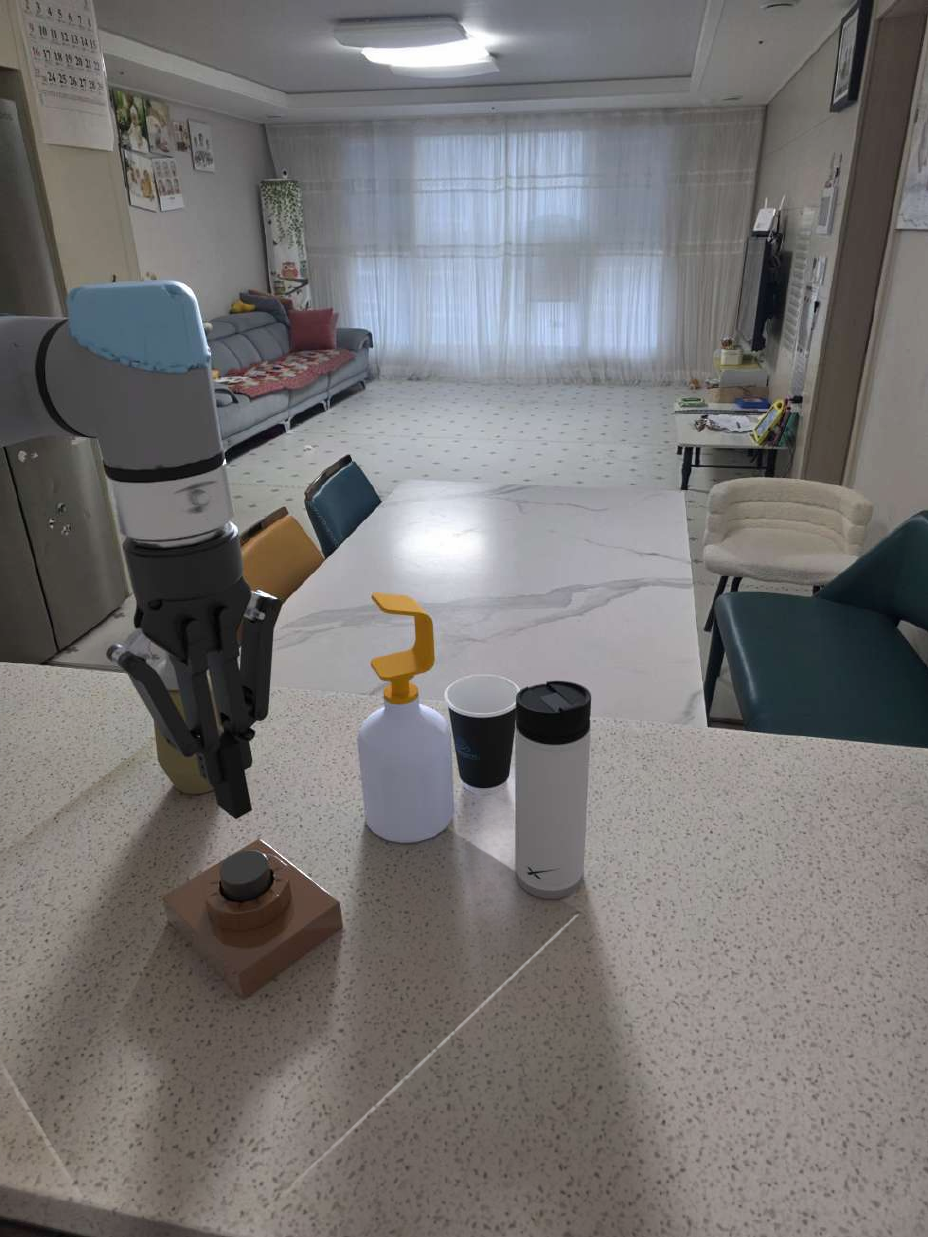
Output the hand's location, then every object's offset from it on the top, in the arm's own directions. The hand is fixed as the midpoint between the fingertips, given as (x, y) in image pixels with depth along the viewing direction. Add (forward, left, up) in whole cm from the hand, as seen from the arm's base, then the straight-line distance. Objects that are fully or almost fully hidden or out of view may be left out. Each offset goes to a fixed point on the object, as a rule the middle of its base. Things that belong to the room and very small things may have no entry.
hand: (234, 807), depth 66 cm
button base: (0, 0, -13) cm, 13 cm away
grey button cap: (0, 0, -8) cm, 8 cm away
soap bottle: (+6, +18, -13) cm, 23 cm away
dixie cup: (+11, +26, -13) cm, 31 cm away
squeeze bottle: (-18, +15, -13) cm, 27 cm away
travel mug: (+22, +15, -13) cm, 30 cm away
